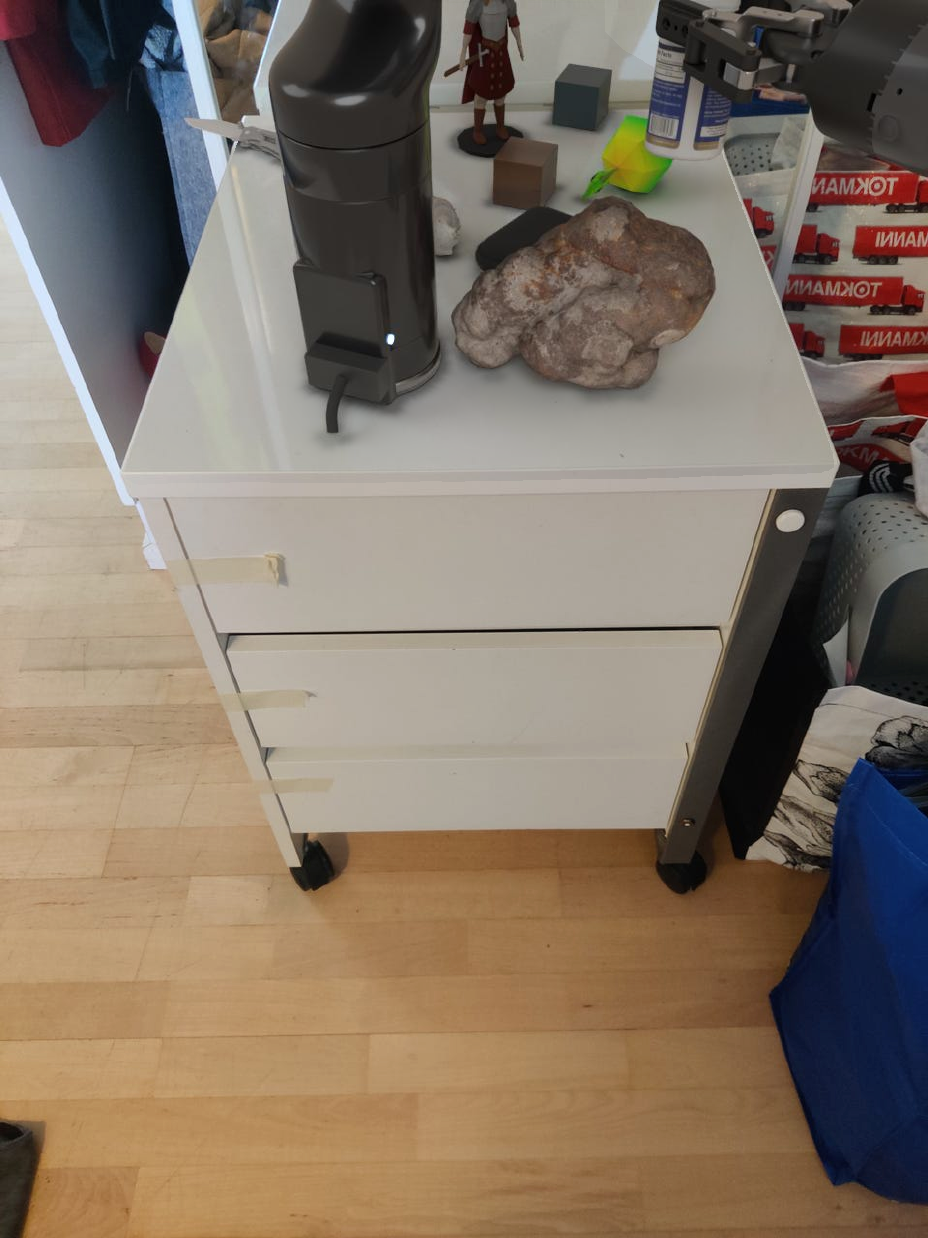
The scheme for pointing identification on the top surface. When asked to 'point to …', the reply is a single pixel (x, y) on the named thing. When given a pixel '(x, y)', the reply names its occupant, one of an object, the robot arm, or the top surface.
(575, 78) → the slate block
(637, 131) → the apple
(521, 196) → the walnut block
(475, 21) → the figurine
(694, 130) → the pill bottle
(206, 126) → the knife
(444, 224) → the seashell
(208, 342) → the top surface
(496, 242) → the carrying case
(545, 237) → the rock
